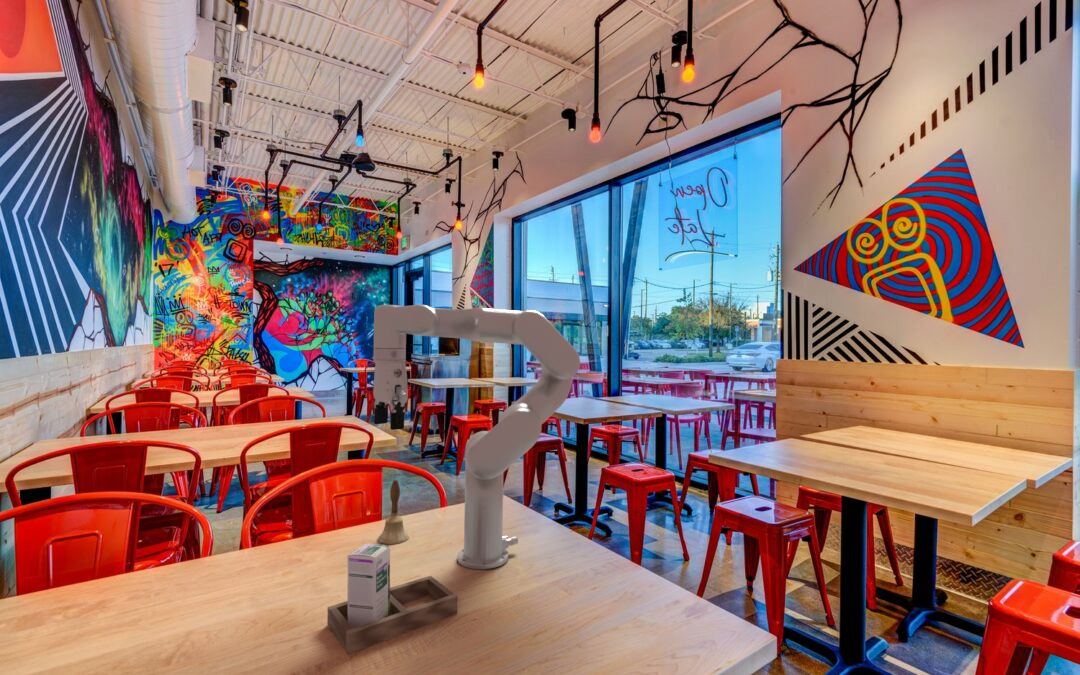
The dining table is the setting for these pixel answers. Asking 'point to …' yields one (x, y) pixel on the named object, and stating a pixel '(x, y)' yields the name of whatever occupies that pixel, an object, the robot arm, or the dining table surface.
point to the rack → (395, 614)
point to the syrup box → (368, 584)
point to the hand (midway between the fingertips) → (388, 426)
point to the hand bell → (394, 521)
